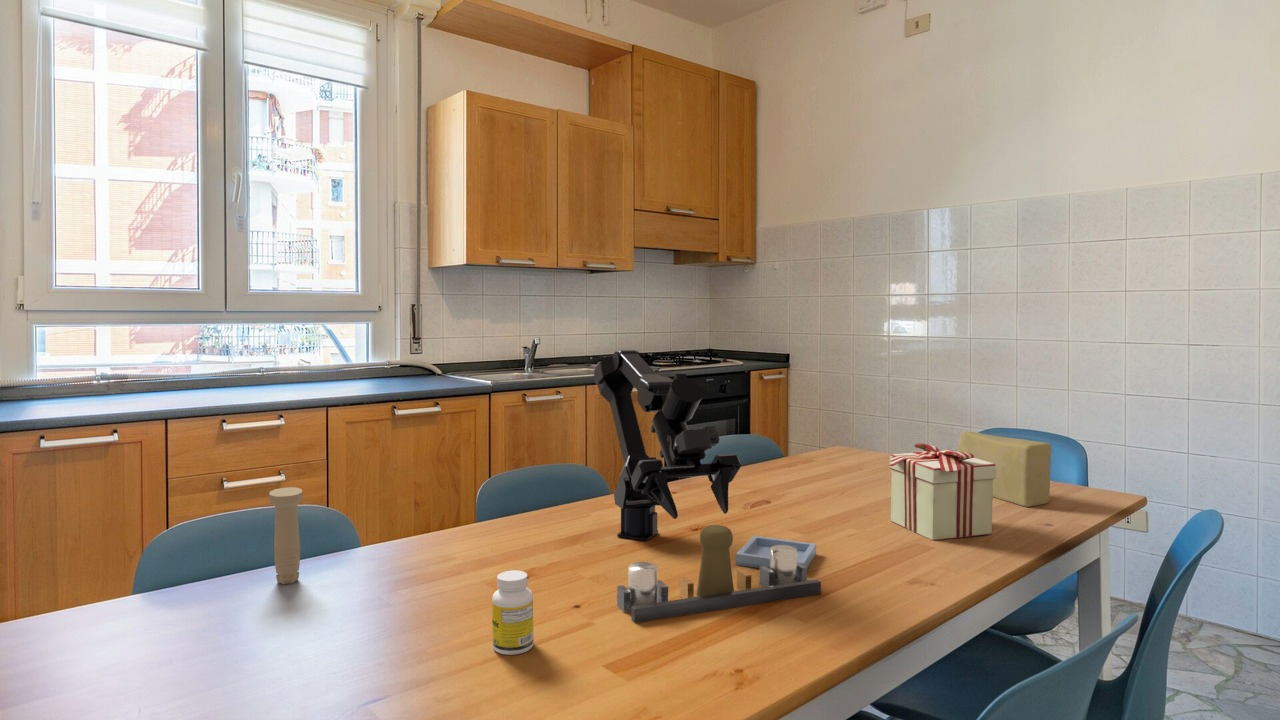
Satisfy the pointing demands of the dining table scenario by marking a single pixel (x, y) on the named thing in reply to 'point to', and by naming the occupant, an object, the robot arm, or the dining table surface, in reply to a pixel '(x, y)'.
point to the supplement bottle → (512, 614)
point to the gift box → (942, 493)
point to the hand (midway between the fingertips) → (701, 514)
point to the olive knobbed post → (715, 561)
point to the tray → (759, 551)
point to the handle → (286, 533)
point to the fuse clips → (776, 585)
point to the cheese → (1013, 466)
